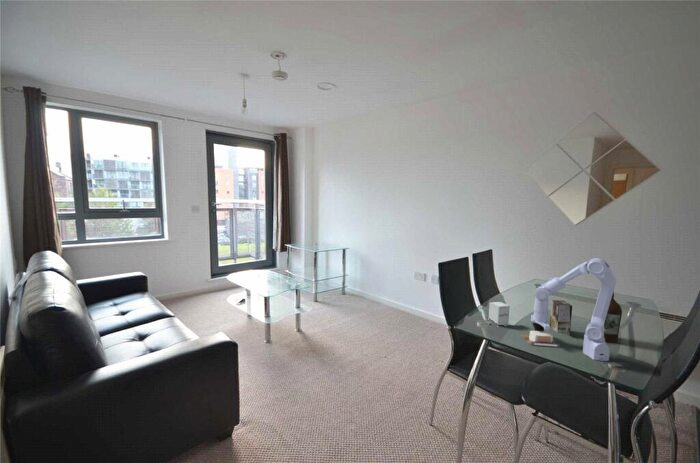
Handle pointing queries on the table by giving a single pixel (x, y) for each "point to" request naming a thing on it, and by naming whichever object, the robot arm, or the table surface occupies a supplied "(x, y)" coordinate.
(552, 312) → the coffee box
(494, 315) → the supplement box
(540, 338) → the cream box
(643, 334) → the table surface
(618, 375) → the table surface
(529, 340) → the tan wooden board
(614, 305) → the olive oil
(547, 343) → the price rail
